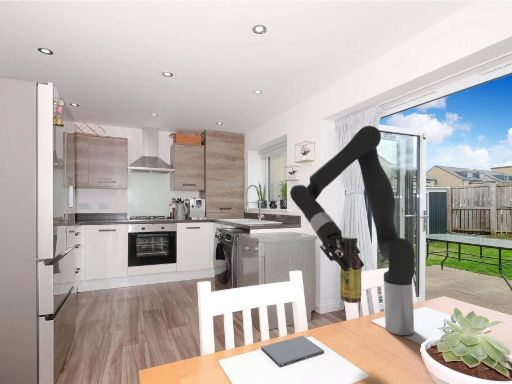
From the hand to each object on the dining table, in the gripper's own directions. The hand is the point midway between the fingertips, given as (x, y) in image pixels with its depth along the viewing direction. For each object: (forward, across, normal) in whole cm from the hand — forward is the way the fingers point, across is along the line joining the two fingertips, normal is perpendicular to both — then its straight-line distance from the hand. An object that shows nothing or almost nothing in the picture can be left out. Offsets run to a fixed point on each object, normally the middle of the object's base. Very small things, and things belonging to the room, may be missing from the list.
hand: (354, 268), depth 86 cm
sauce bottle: (+6, 0, +9) cm, 11 cm away
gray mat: (+9, -16, +27) cm, 32 cm away
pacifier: (+26, +40, +12) cm, 49 cm away
